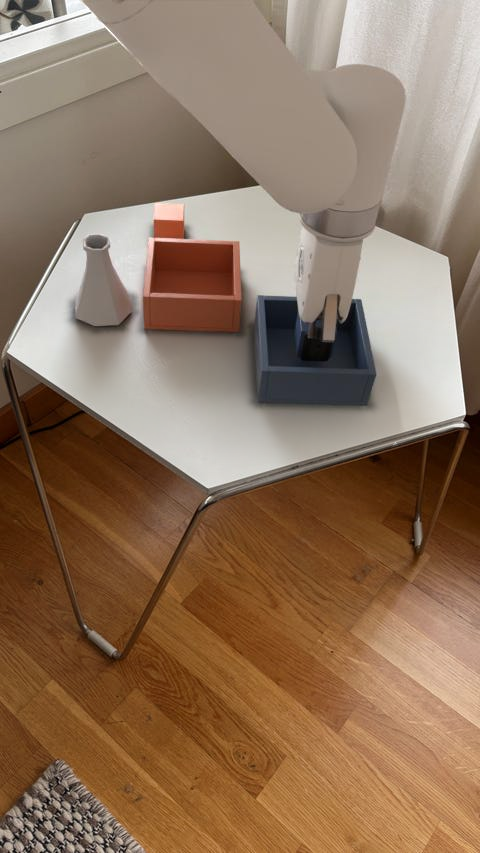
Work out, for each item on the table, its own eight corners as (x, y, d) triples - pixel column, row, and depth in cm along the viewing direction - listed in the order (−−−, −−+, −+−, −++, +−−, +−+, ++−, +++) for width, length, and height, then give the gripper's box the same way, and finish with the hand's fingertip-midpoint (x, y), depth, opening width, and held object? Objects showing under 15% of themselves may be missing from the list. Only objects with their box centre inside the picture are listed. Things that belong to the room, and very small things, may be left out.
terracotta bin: (144, 329, 87) (142, 296, 83) (149, 269, 94) (148, 237, 90) (238, 332, 87) (241, 300, 83) (236, 273, 95) (239, 241, 91)
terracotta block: (154, 244, 98) (153, 219, 94) (155, 227, 100) (155, 202, 97) (183, 245, 98) (183, 220, 95) (184, 228, 100) (184, 204, 97)
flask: (124, 332, 86) (118, 265, 78) (66, 323, 86) (55, 255, 79) (139, 294, 91) (135, 228, 83) (83, 286, 91) (75, 219, 83)
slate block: (296, 357, 81) (301, 331, 78) (294, 333, 83) (298, 307, 80) (331, 358, 81) (337, 332, 78) (327, 334, 84) (333, 308, 81)
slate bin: (257, 402, 80) (261, 371, 76) (253, 326, 88) (257, 294, 84) (367, 405, 81) (376, 374, 77) (353, 330, 89) (361, 298, 85)
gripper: (294, 158, 73) (276, 296, 87) (308, 259, 63) (284, 397, 77) (366, 162, 74) (336, 298, 88) (391, 262, 63) (353, 399, 77)
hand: (312, 343), depth 82 cm, fingers closed on slate block, 4 cm apart
